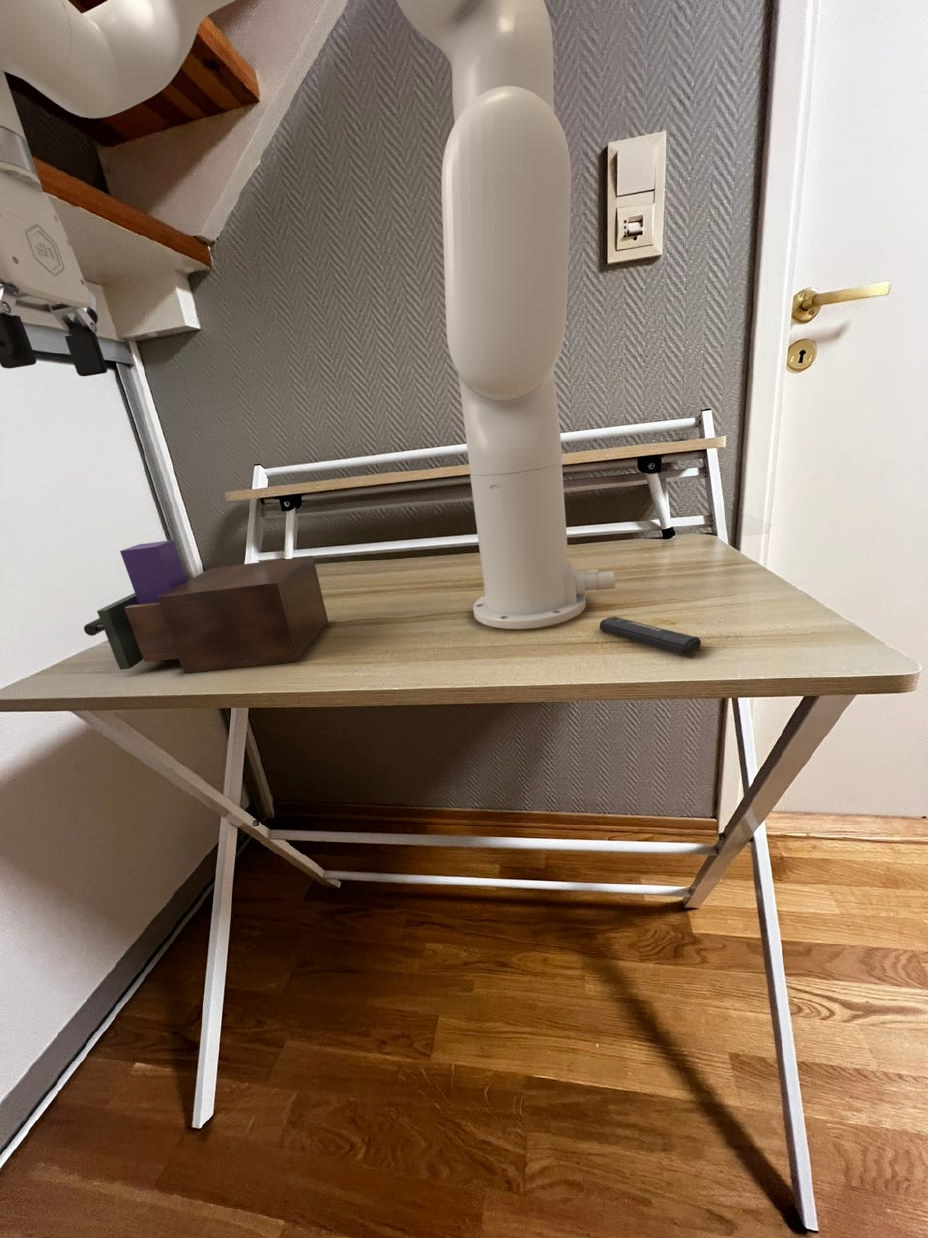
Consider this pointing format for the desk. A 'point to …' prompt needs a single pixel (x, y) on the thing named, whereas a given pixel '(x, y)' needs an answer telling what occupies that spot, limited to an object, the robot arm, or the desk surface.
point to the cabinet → (246, 615)
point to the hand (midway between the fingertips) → (59, 370)
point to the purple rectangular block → (153, 569)
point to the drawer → (134, 632)
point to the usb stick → (651, 636)
